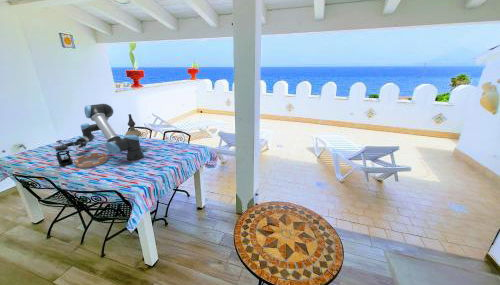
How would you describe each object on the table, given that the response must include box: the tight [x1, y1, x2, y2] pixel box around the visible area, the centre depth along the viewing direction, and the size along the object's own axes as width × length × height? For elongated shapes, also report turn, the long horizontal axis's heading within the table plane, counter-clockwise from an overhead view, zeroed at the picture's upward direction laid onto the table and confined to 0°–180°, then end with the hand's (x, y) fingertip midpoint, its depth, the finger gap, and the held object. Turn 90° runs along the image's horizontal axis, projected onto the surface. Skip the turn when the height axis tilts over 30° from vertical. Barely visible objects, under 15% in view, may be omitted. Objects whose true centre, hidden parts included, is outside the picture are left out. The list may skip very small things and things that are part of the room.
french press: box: [54, 139, 74, 167], centre depth 182 cm, size 12×9×23 cm
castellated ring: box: [73, 151, 108, 169], centre depth 190 cm, size 24×24×6 cm
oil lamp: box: [124, 114, 143, 152], centre depth 213 cm, size 15×15×40 cm
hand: (68, 148), depth 189 cm, fingers open, 13 cm apart
